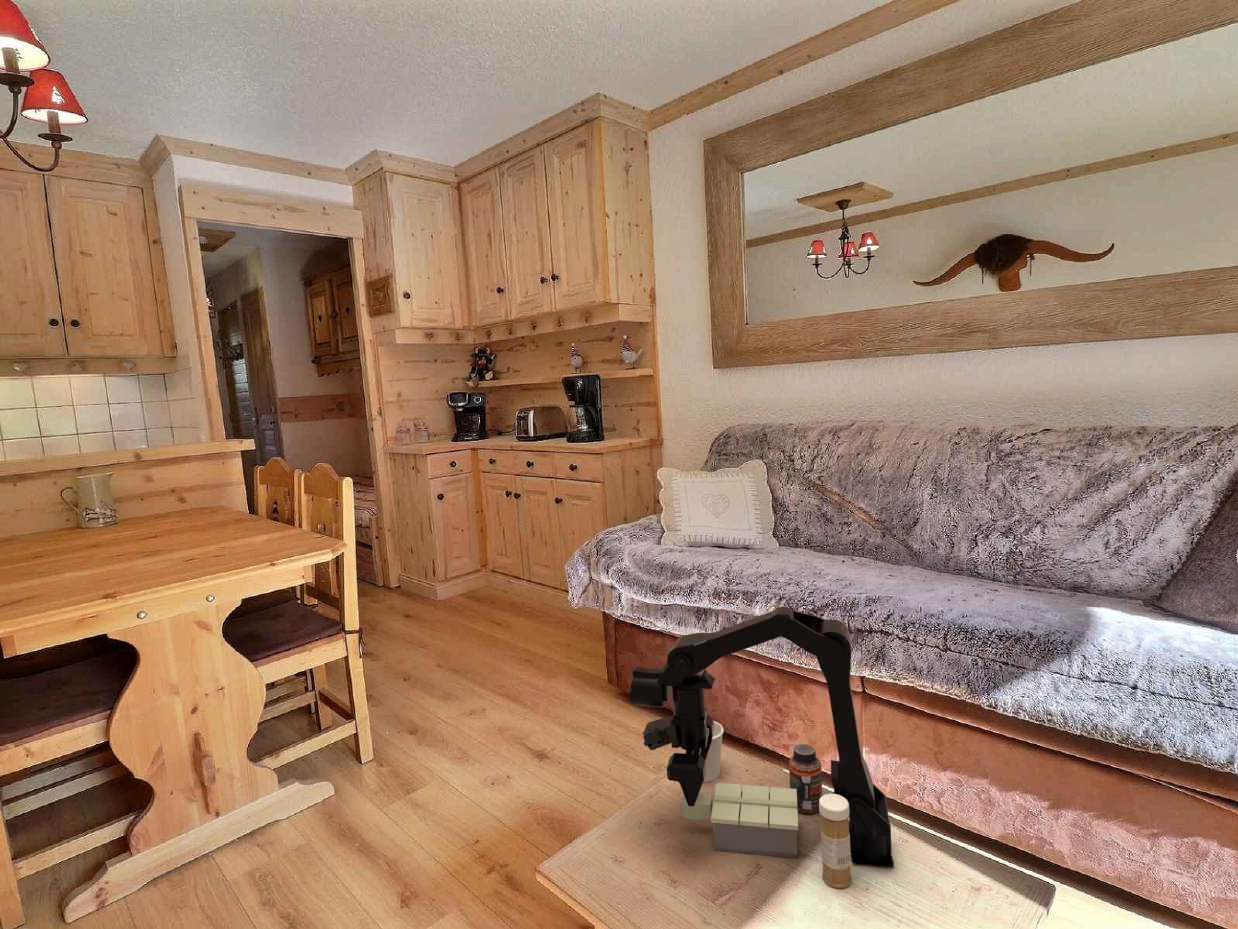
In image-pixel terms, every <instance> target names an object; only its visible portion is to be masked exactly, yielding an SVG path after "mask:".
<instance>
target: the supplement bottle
mask: <svg viewBox="0 0 1238 929" xmlns="http://www.w3.org/2000/svg"><path fill="white" fill-rule="evenodd" d="M816 753H817V752H816V749H815V747H814V746H813V745H810V744H806V743H800V744H799V743H798V744H796V745H794V747H793V755H792V756H791V757H790V758H789V761H788V769H789V770H788V773H789V775H788V776H789V788H791V789H797V812H799V813H803V814H806V815H807V814H810V815H811V814H815V813H818V812H820V811H819V800H820V798H821V797H822V796H823V781H822V780H823V779H822V778H823V777H822V776H823V775H822V763H821V761H820V759H819V758H818V757H817V754H816Z"/></svg>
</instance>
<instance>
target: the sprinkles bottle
mask: <svg viewBox="0 0 1238 929" xmlns="http://www.w3.org/2000/svg"><path fill="white" fill-rule="evenodd" d="M818 812H819V814H820V838H821V841H820V842H821V859H822V879H823V880H824V882H825V883H826V884H827V885H828V886H830V887H832V888H835V889H845V888H847V887H849V886H851V884H852V880H853V878H852V872H851V869H852V868H851V864H852V858H851V853H850V833H849V803H848V801H847V800H846V799H845V798H844V797H842V796H840V795H837V794H834V793H826V794H822V797H821V798H820V800H819V811H818Z"/></svg>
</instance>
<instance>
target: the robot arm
mask: <svg viewBox="0 0 1238 929" xmlns="http://www.w3.org/2000/svg"><path fill="white" fill-rule="evenodd" d="M778 638H783V639H786V640H788V641H790V642H791V643H793V644H794V645H795V646H797V647H798V648H800V649H802V650H803V651H805V652H807V653H809V654H812V655H813V656H815V657H816V659H817V662H818V665H819V667H820V671H821V673H822V675H823V676H824V679H825V681H826V684H827V690H828V695H829V696H828V697H829V702H830V710H831V716H832V721H833V729H834V735H835V741H836V746H837V753H838V760H833V759H832V760H830V781H831V784H832V787H833V794H837V795H840V796H842V797H844V798H845V799H846V800H847V801H848V803H849V818H848V820H849V833H850V856H851V864H854V865H860V866H868V867H878V868H879V867H880V868H890V869H893V868H894V867H895V864H894V859H893V855H892V854H893V853H892V827H891V821H890V818H889V811H888V801H887V795H886V794H884V792H883V791H882V790H881V789H880V788H878V786H877V785H875V784H874V782H873V778H872V776H871V775H872V774H871V773H870V770H869V767H868V765H867V762H866V760H865V757H864V756H863V753H862V750H861V742H860V738H859V736H860V735H859V729H858V724H857V717H856V712H855V711H856V710H855V705H854V700H853V698H854V697H853V692H852V686H851V668H852V642H851V633H850V630H849V628H848V626H847V625H845V624H844V623H843V622H841V621H839V620H838V619H831V618H829V619H824V618H823V617H819V616H818V615H816V614H810V613H806V612H801V611H797V610H794V609H792V608H791V607H788V606H778V607H776V608H775V609H774V610H771V611H768V612H766V613H763V614H761V615H758V616H755V617H753V618H750V619H747V620H745V621H742V622H739V623H736V624H733V625H731V626H729V627H726V628H723V629H720V630H717V631H712V632H695V633H690V634H685V635H682V636H680V637H678V638H677V640H675V642H674V644H673V645H672V647H671V650H669V652H668V656H666V657H667V661H666V662H665V664H664V666H663V667H662V668H647V667H643V666H635V667H634V669H633V670H632V679H631V681H630V682H631V683H630V684H631V685H630V690H629V699H630V700H629V701H630V704H631V705H632V706H637V707H638V706H639V707H651V708H664V707H665V705H666V703H670V701H671V700H672V703H673V704H672V706H673V715H671V716H664V717H662V718H658V719H655V720H652V721H649V722H648V723H647V724H645V727H644V730H643V733H642V735H643V740H644V742H643V745H644V746H645V747H647V748H648V750H650V751H656V749H659V748H662V747H664V746H668V745H670V744H671V745H670V746H671V749H679V748H680V750H683V751H685V753H683V752H682V753H681V752H680V753H679V752H674V753H673V754H672V755H671V756H670V757H669V759H668V762H667V766H666V779H667V780H669V781H671V782H677V783H679V785H680V788H681V790H682V794H683V797H684V796H685V799H686V802H687V804H688V806H694V805H695V803H696V800H697V797H698V794H700V792H701V789H702V786H703V784H704V783H705V782H704V778H705V773H706V771H705V770H706V763H705V761H706V758H707V754H708V751H709V748H710V745H711V742H712V738H713V731H714V721H715V720H714V719H713V718H712V717H711V716H710V715H709V714H708V707H706V698H705V697H706V696H705V690H712V689H713V687H714V683H715V681H716V678H715V677H714V676H713V675H711V674H710V673H709V672H708V670H706V669H707V668H708V667H710V666H711V665H712V664H713V663H715V662H716V661H718V660H720V659H721V658H724V657H727V656H730V655H732V654H735V653H738V652H741V651H744V650H747V649H749V648H752V647H755V646H758V645H761V644H763V643H766V642H770V641H773V640H775V639H778ZM708 729H709V732H708Z"/></svg>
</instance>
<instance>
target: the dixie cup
mask: <svg viewBox="0 0 1238 929" xmlns="http://www.w3.org/2000/svg"><path fill="white" fill-rule="evenodd" d="M708 732H709V729H708ZM723 734H724V726H722V724H720V723H719V722H718V721H715V720H714V731H713V738H712V742H711V745H710V748H709V751H708V754H707V758H706V761H705V763H706V770H705V771H706V773H705V778H704V782H703V783H709V782H714V781H716V780H717V779H719V777H720V774H721V760H722V759H721V758H722V744H723Z"/></svg>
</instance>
